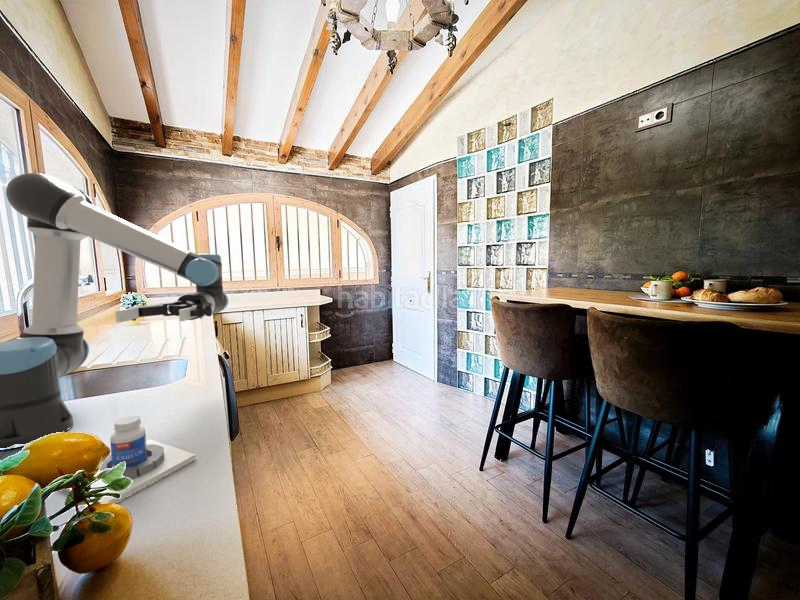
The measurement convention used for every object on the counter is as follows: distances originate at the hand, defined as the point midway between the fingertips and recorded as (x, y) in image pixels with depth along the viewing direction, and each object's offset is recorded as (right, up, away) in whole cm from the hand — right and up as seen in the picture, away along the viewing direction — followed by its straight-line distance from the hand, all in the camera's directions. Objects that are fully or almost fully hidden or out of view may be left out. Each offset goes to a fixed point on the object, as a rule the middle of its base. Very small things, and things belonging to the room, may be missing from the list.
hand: (149, 316), depth 76 cm
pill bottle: (+4, -30, -10) cm, 32 cm away
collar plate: (+4, -31, -10) cm, 33 cm away
